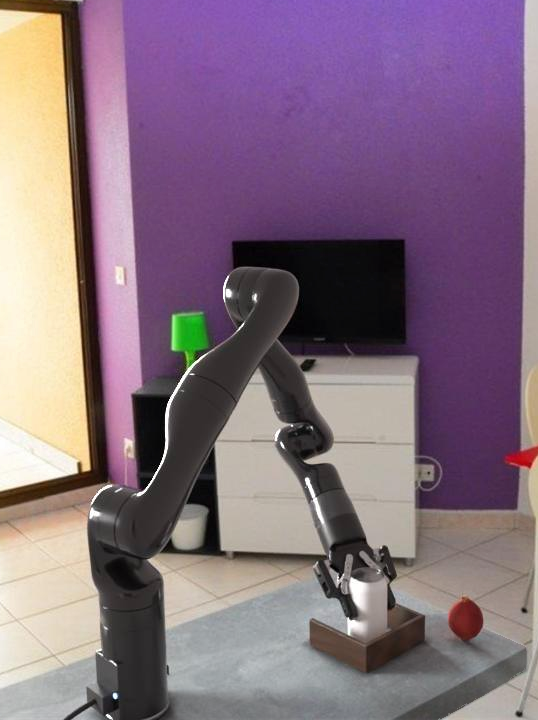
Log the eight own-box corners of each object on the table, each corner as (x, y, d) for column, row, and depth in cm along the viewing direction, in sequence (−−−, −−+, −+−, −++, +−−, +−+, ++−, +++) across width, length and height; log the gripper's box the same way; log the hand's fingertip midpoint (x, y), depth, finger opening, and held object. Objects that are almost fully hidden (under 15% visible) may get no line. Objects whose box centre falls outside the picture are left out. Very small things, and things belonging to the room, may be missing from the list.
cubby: (366, 673, 141) (366, 646, 140) (309, 644, 150) (309, 619, 149) (425, 640, 151) (425, 615, 150) (368, 615, 160) (368, 591, 159)
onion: (462, 628, 155) (463, 584, 153) (489, 640, 150) (491, 595, 149) (440, 640, 151) (441, 595, 149) (468, 653, 146) (469, 606, 145)
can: (387, 633, 153) (387, 566, 151) (386, 653, 147) (387, 583, 145) (348, 632, 154) (348, 565, 152) (347, 651, 147) (346, 582, 145)
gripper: (307, 519, 150) (343, 615, 142) (380, 504, 157) (419, 595, 148) (292, 539, 155) (326, 632, 147) (363, 524, 162) (400, 612, 154)
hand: (373, 613), depth 148 cm, fingers closed on can, 6 cm apart
